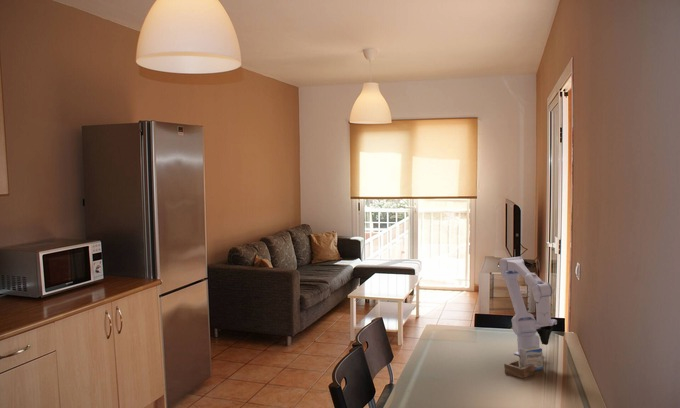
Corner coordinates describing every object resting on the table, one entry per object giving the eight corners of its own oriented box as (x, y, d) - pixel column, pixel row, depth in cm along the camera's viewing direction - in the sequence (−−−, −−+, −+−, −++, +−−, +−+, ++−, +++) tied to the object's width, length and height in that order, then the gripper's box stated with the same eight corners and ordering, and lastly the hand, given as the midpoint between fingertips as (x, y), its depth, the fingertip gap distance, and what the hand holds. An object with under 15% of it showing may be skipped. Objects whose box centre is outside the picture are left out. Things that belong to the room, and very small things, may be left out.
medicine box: (526, 372, 220) (525, 351, 219) (520, 369, 224) (519, 348, 224) (543, 369, 222) (542, 348, 221) (536, 366, 226) (535, 345, 226)
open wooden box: (516, 368, 224) (516, 360, 224) (534, 374, 217) (534, 365, 217) (504, 372, 221) (504, 364, 220) (522, 378, 213) (522, 369, 213)
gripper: (540, 316, 220) (541, 349, 220) (562, 310, 227) (564, 342, 228) (525, 313, 226) (527, 346, 226) (548, 308, 233) (549, 339, 234)
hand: (544, 344), depth 227 cm, fingers closed
